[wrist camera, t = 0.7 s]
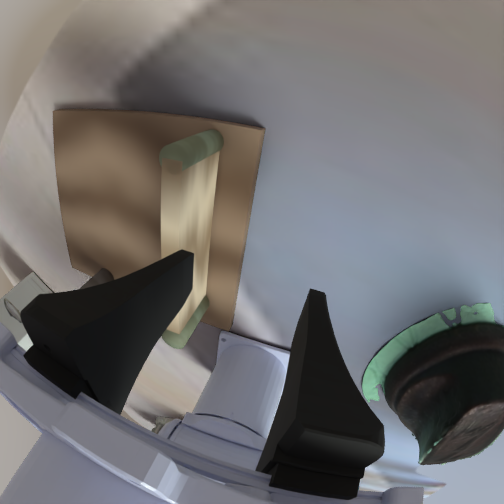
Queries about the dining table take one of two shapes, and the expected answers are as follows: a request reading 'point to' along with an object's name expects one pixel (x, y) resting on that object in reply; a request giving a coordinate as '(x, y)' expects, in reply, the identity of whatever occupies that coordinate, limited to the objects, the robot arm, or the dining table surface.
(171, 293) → the robot arm
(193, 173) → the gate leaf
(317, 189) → the dining table surface
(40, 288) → the supplement box
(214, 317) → the board
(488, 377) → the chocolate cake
